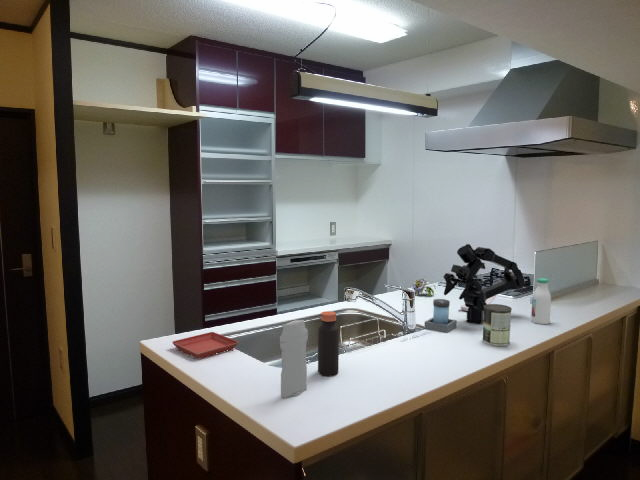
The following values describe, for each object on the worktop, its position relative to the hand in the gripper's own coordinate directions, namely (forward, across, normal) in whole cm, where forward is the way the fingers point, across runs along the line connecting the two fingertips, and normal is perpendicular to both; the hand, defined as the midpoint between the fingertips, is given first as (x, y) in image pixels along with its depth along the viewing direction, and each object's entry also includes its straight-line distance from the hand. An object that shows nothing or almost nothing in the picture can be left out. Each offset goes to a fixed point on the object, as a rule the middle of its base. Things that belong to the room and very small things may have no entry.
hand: (451, 296), depth 211 cm
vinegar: (+62, +21, -43) cm, 79 cm away
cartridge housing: (+14, 0, +5) cm, 14 cm away
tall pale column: (+74, +30, -55) cm, 97 cm away
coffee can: (+9, +25, +10) cm, 28 cm away
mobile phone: (-14, -16, +34) cm, 40 cm away
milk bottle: (-19, +15, +38) cm, 45 cm away
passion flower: (-12, -54, +31) cm, 63 cm away
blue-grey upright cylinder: (+14, 0, +5) cm, 14 cm away
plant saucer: (+83, -20, -64) cm, 106 cm away
